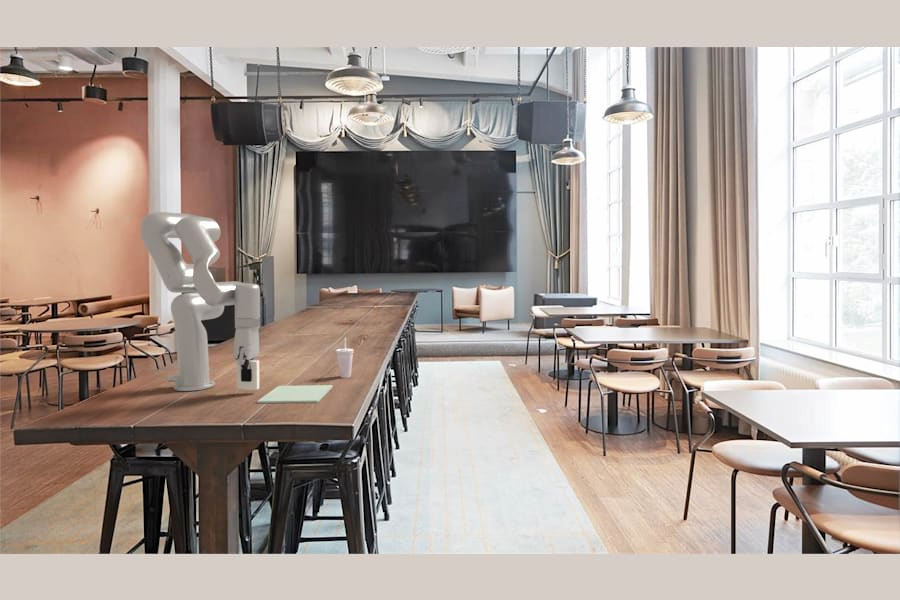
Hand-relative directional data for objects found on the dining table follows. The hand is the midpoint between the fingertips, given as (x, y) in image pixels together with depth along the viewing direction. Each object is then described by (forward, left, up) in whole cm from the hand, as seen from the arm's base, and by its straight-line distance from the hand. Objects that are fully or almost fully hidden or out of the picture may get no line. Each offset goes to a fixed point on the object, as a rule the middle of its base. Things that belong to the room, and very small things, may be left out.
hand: (248, 379), depth 184 cm
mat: (+16, -3, -4) cm, 17 cm away
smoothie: (+26, +23, -5) cm, 35 cm away
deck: (0, 0, -3) cm, 3 cm away
